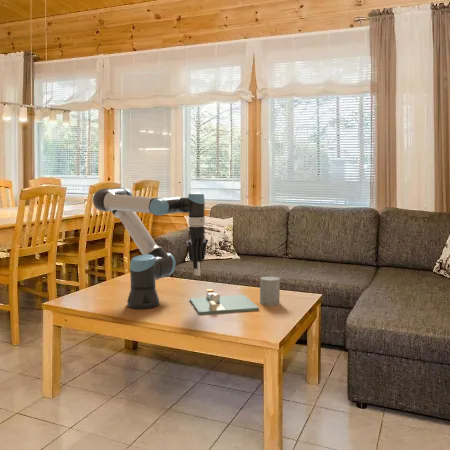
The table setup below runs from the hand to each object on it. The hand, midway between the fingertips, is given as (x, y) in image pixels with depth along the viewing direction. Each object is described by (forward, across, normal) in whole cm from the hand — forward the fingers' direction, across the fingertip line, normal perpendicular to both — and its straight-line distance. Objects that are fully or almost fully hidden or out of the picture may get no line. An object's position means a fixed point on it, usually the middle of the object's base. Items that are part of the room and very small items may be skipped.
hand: (197, 275), depth 234 cm
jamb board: (+15, +8, -10) cm, 19 cm away
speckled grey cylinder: (+15, +26, -23) cm, 38 cm away
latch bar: (+13, +7, -3) cm, 15 cm away
